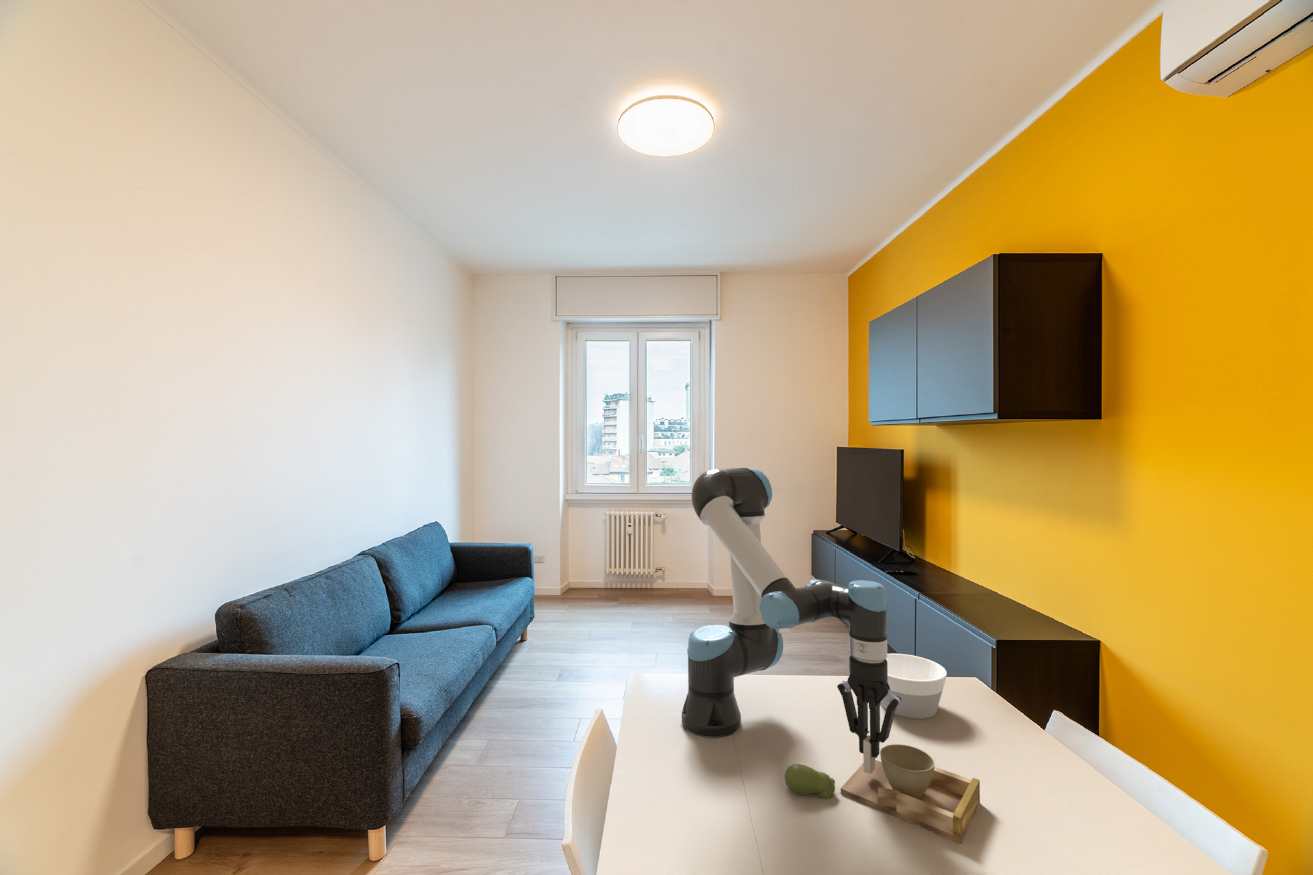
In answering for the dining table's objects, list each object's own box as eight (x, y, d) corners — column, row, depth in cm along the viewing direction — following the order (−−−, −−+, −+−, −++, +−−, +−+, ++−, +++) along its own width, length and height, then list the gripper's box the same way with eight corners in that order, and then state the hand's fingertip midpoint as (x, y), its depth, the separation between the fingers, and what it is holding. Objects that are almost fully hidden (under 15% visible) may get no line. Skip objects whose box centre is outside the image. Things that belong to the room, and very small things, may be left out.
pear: (785, 755, 118) (833, 766, 117) (781, 780, 118) (829, 791, 116) (788, 771, 112) (839, 782, 111) (784, 797, 112) (835, 808, 111)
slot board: (840, 793, 114) (840, 771, 114) (868, 761, 125) (868, 741, 125) (960, 843, 99) (960, 818, 99) (980, 802, 111) (979, 779, 111)
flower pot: (941, 811, 106) (941, 773, 106) (885, 804, 108) (885, 767, 108) (927, 780, 116) (927, 746, 116) (876, 775, 118) (876, 741, 118)
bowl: (962, 723, 142) (961, 681, 142) (886, 723, 142) (885, 681, 142) (926, 690, 161) (926, 653, 161) (859, 690, 161) (859, 653, 161)
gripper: (831, 654, 119) (832, 766, 119) (893, 670, 111) (895, 790, 110) (845, 644, 125) (846, 751, 124) (906, 659, 116) (907, 773, 116)
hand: (869, 769), depth 117 cm, fingers closed
